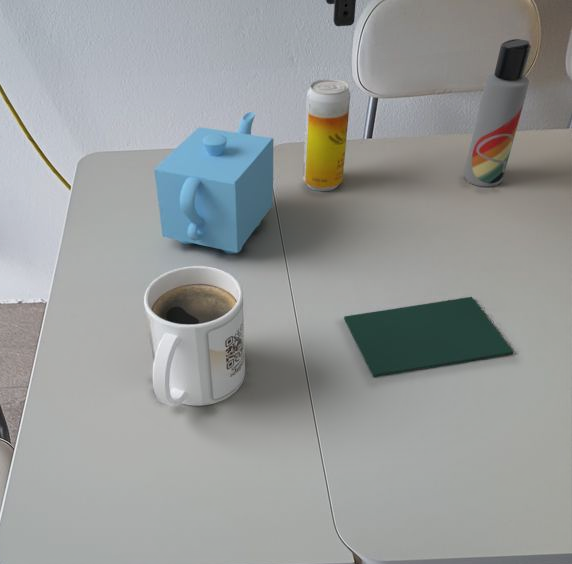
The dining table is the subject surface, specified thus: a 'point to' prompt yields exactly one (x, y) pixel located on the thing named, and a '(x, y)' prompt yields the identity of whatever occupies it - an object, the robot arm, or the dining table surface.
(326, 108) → the beer can
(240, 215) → the teapot
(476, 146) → the lotion bottle
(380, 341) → the cloth
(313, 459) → the dining table surface
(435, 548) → the dining table surface
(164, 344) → the mug
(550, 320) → the dining table surface
